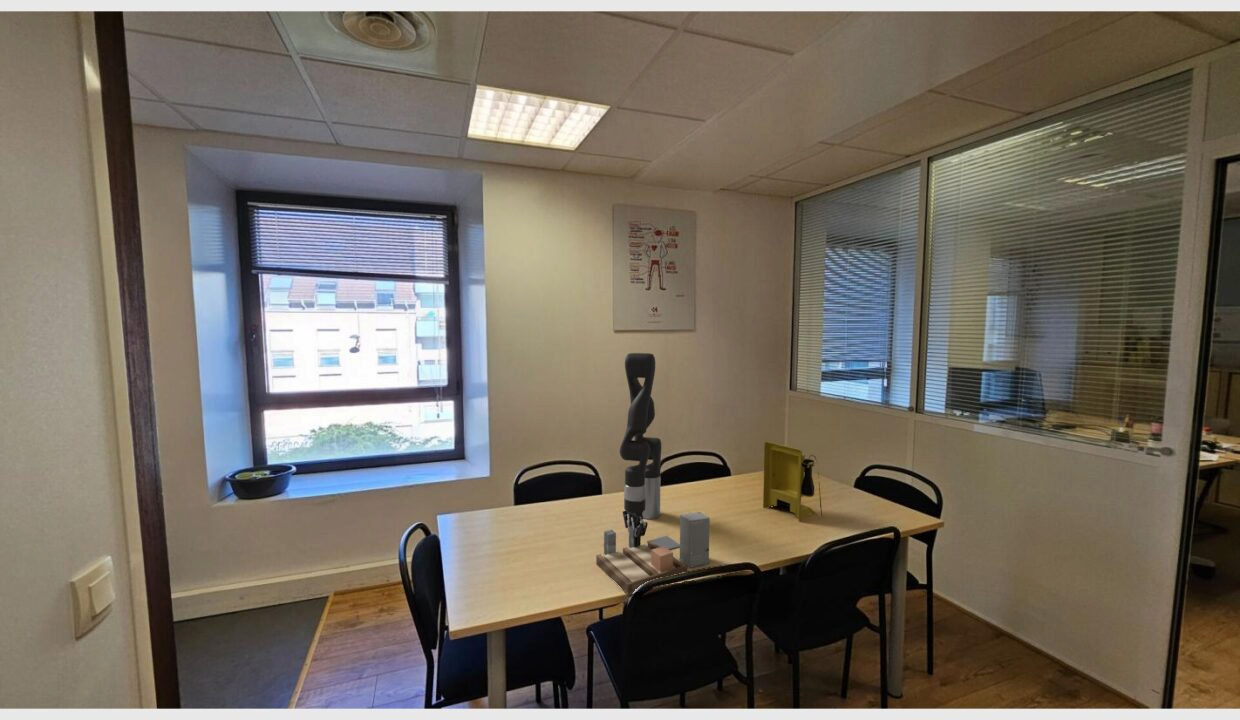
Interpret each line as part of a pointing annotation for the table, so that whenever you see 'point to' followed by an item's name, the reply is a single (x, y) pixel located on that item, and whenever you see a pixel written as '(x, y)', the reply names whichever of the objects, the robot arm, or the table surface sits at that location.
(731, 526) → the table surface
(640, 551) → the strip
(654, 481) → the robot arm
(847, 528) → the table surface
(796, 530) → the table surface
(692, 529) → the skincare box
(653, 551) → the cube
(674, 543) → the pad
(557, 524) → the table surface
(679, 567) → the lane board
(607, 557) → the strip
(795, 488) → the vintage telephone
